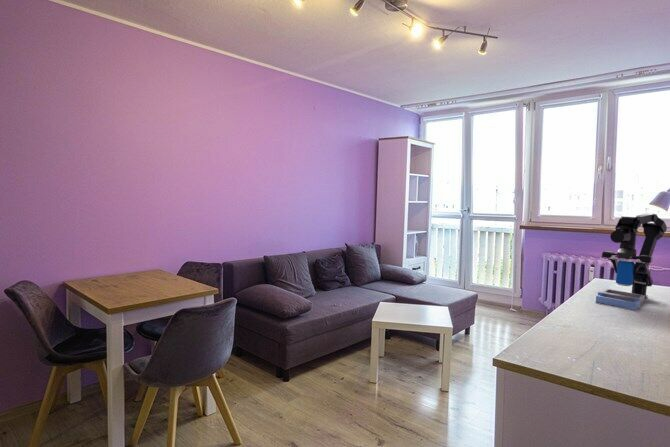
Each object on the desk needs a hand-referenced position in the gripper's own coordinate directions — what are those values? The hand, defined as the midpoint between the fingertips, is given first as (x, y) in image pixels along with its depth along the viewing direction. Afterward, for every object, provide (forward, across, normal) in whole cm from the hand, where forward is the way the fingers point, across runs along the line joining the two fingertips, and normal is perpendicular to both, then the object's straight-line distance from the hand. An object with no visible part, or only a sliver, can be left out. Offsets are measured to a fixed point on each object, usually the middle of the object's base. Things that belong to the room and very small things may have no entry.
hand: (624, 274), depth 184 cm
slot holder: (+12, 0, -5) cm, 13 cm away
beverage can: (+5, 0, 0) cm, 5 cm away
